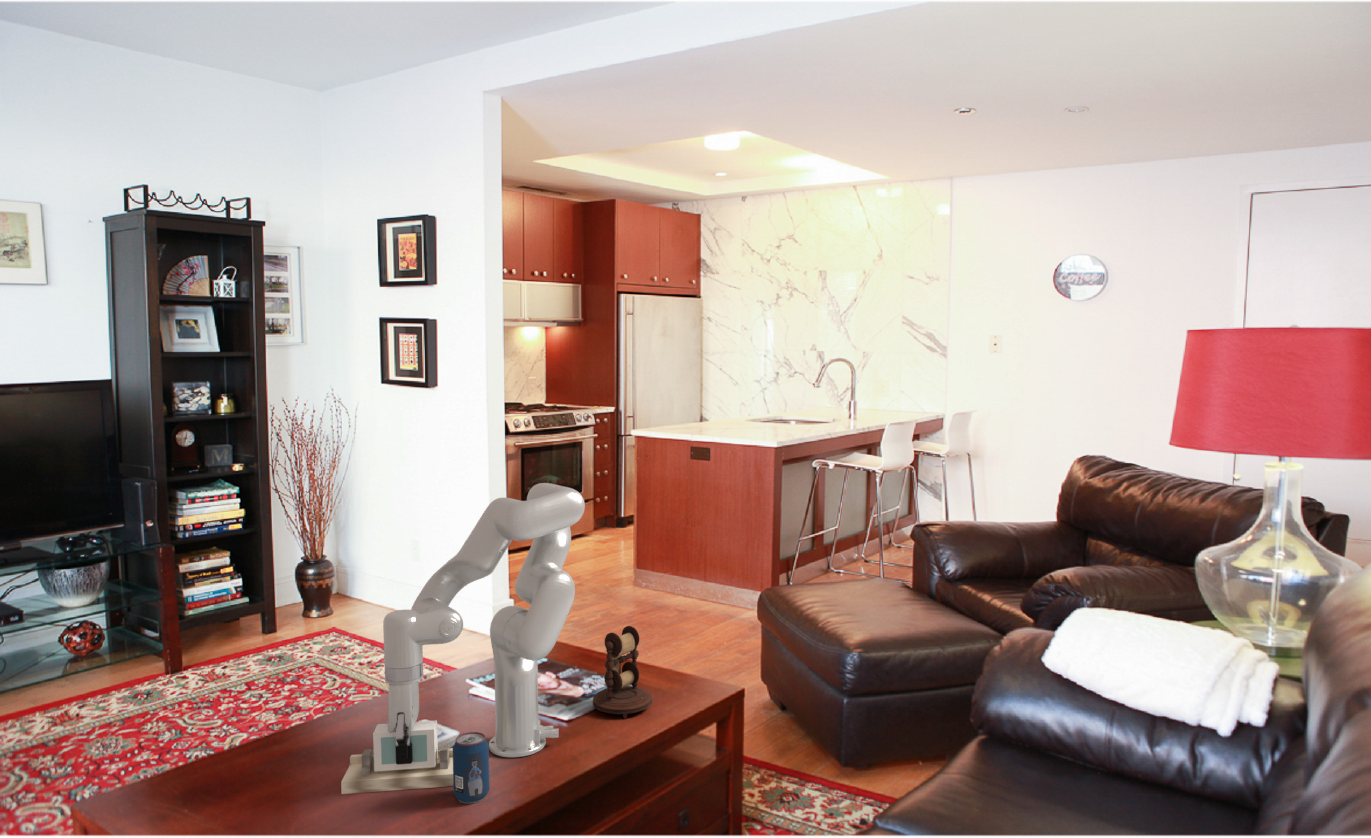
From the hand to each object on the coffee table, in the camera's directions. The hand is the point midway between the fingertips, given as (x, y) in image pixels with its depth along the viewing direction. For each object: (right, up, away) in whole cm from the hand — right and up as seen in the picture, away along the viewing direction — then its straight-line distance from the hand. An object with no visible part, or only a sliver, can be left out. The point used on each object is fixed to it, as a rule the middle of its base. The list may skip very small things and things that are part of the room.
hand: (406, 756), depth 181 cm
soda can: (+15, -6, -7) cm, 17 cm away
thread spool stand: (+42, -3, +38) cm, 56 cm away
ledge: (0, -5, +1) cm, 5 cm away
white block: (0, -2, 0) cm, 2 cm away
